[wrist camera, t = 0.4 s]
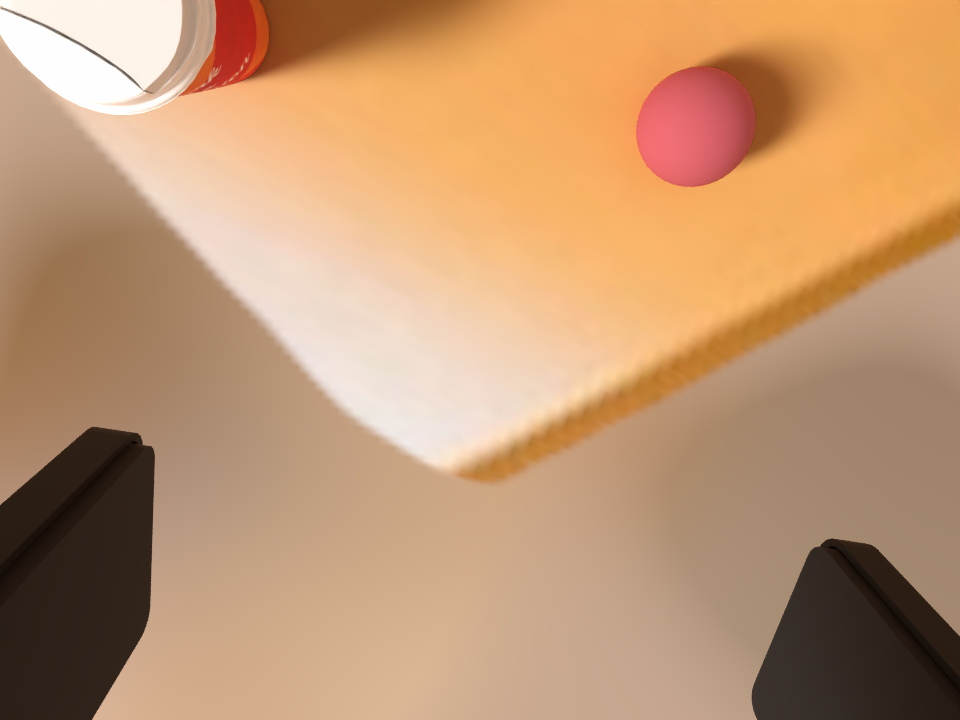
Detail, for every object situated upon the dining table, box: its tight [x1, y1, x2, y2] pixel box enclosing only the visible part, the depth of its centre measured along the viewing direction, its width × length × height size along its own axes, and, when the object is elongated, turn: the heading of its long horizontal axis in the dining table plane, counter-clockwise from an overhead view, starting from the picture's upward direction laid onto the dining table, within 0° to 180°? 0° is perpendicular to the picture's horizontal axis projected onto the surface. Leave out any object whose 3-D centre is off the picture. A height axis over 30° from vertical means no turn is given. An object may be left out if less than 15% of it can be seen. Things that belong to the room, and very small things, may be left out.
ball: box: [636, 67, 756, 187], centre depth 36 cm, size 6×6×6 cm
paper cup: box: [0, 0, 269, 115], centre depth 30 cm, size 8×8×14 cm
